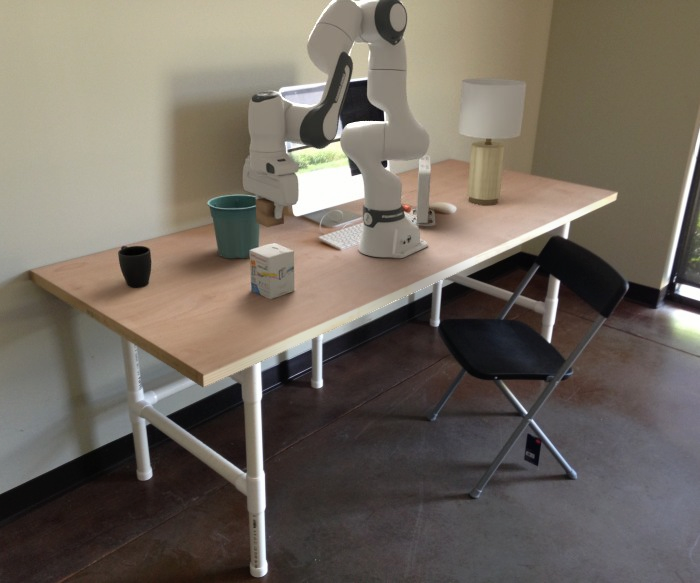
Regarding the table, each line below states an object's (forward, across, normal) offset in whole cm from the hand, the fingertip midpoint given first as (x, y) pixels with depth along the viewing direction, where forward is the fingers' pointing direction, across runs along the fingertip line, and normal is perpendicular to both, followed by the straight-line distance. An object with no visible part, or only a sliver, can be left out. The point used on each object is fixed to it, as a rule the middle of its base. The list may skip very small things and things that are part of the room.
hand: (270, 215), depth 172 cm
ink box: (+21, 0, 0) cm, 21 cm away
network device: (+21, -22, +78) cm, 84 cm away
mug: (+21, -28, -26) cm, 44 cm away
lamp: (+21, -23, +112) cm, 116 cm away
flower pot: (+21, -31, +8) cm, 38 cm away
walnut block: (+2, 0, 0) cm, 2 cm away
